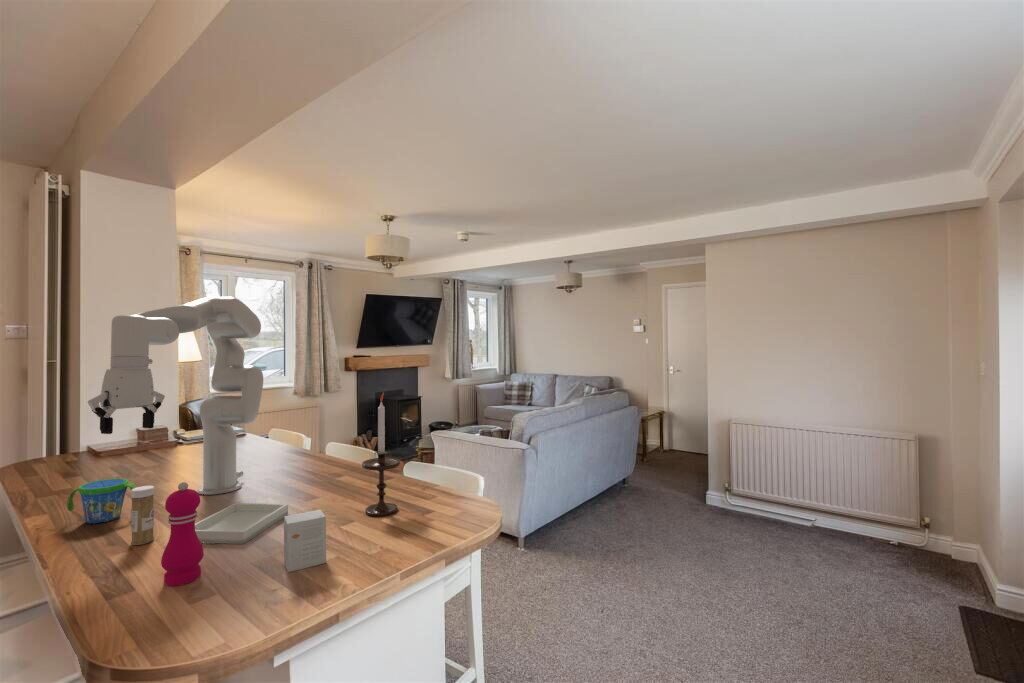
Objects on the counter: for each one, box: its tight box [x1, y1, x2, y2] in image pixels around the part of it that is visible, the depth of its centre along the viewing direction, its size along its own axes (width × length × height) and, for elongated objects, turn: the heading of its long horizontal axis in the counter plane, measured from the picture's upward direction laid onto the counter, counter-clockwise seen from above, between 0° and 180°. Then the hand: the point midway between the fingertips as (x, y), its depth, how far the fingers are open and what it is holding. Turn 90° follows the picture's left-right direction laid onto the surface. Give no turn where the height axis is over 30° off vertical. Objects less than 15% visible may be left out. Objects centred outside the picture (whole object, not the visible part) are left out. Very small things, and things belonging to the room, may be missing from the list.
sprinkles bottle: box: [130, 485, 155, 546], centre depth 115 cm, size 5×5×13 cm
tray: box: [195, 502, 289, 545], centre depth 124 cm, size 20×16×3 cm
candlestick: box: [361, 391, 401, 518], centre depth 136 cm, size 11×11×35 cm
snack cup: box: [66, 478, 137, 525], centre depth 130 cm, size 16×10×10 cm
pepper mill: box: [160, 481, 205, 587], centre depth 97 cm, size 7×7×20 cm
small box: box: [283, 509, 327, 573], centre depth 103 cm, size 8×6×10 cm
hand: (128, 430), depth 119 cm, fingers open, 9 cm apart
